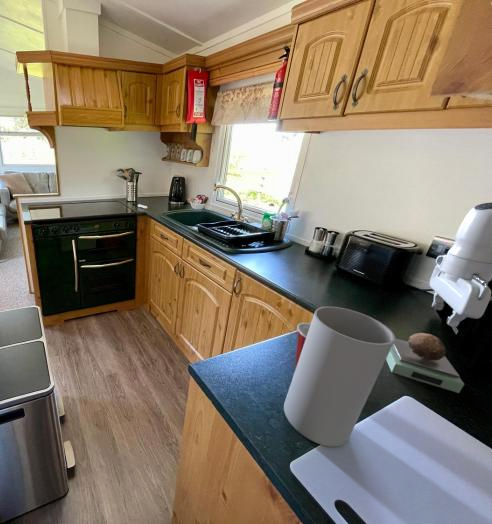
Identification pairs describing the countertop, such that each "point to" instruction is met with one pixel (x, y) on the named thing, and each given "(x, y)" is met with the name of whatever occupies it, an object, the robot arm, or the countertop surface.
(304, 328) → the plastic cup
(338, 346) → the cylinder vase
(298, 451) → the countertop surface
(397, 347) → the scale pan
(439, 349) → the brown potato
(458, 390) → the scale base
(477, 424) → the countertop surface
